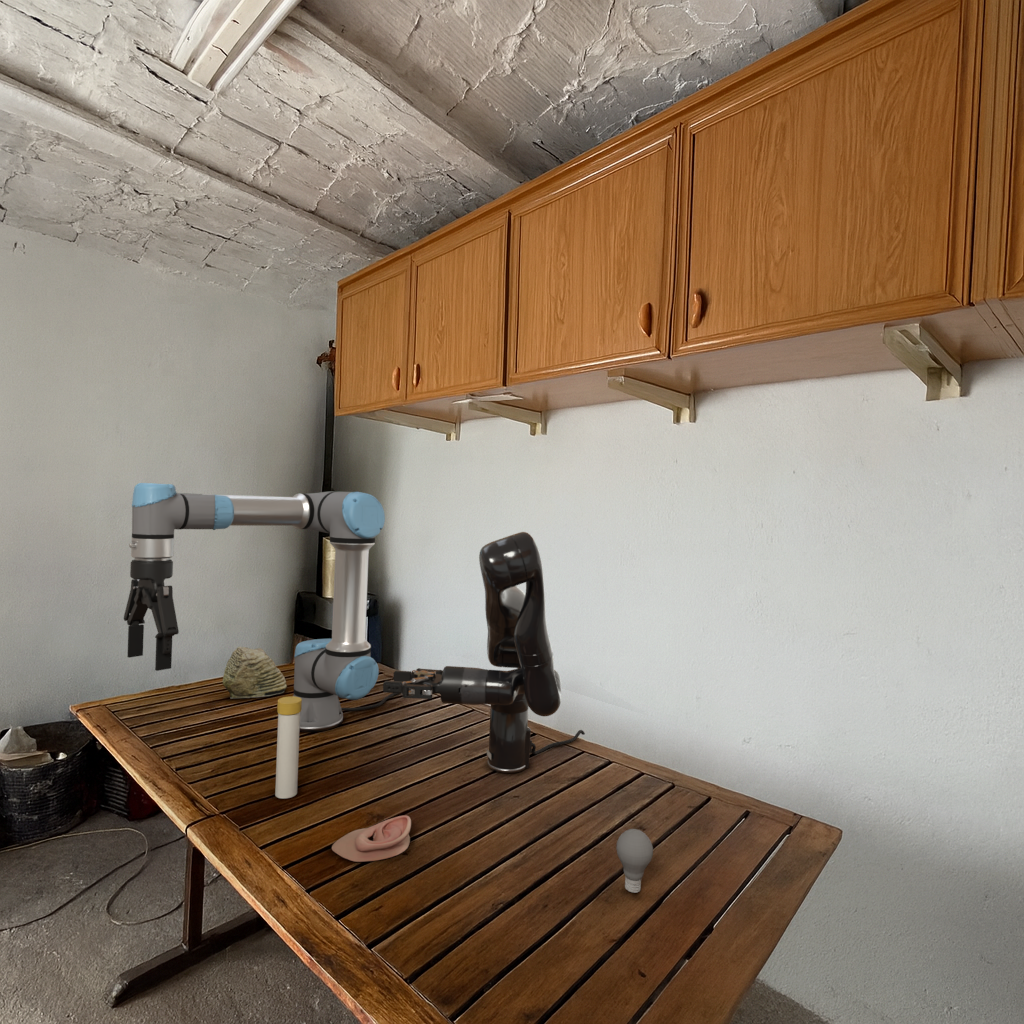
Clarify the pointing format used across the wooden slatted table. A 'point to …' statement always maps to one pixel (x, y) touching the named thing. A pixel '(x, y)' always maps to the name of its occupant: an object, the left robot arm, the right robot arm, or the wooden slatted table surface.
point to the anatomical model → (375, 841)
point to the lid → (289, 705)
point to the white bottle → (287, 755)
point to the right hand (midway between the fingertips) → (388, 681)
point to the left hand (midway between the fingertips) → (148, 662)
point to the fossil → (252, 674)
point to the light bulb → (634, 857)
